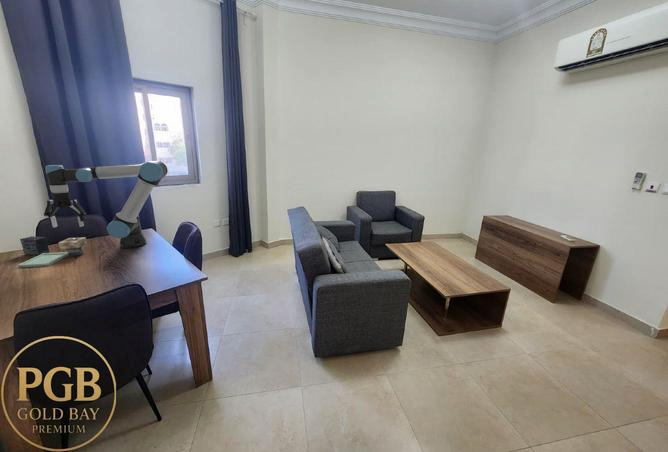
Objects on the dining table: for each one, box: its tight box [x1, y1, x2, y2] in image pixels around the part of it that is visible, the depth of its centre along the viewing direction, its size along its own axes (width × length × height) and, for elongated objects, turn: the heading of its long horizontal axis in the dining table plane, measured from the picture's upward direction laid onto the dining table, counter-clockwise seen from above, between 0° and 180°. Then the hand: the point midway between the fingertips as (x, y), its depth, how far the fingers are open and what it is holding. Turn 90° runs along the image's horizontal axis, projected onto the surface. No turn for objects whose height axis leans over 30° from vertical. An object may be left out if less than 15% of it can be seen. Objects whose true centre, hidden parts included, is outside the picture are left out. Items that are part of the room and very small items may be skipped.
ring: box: [58, 236, 88, 250], centre depth 166 cm, size 9×9×4 cm
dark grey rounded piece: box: [66, 237, 85, 258], centre depth 167 cm, size 7×7×11 cm
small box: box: [19, 235, 50, 256], centre depth 167 cm, size 11×6×10 cm, turn 84°
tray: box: [17, 251, 69, 268], centre depth 159 cm, size 14×18×2 cm
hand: (68, 226), depth 163 cm, fingers open, 13 cm apart
